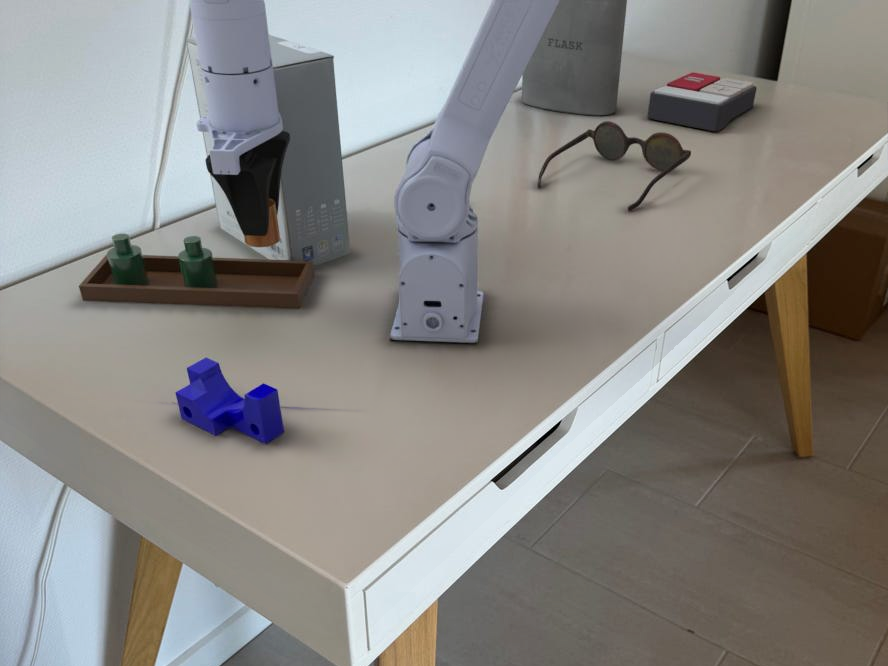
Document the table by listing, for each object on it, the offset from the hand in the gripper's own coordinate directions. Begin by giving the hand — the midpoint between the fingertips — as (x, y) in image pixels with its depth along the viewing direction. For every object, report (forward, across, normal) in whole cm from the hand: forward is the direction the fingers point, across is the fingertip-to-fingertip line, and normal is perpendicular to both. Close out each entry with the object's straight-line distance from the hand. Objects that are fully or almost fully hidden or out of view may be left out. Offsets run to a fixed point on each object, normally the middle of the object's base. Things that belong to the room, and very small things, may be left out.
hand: (260, 225), depth 82 cm
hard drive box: (+9, -15, -2) cm, 17 cm away
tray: (+8, -3, -8) cm, 12 cm away
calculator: (+9, -65, +50) cm, 82 cm away
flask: (+9, -66, +30) cm, 73 cm away
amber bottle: (+1, 0, 0) cm, 1 cm away
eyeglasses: (+9, -36, +34) cm, 50 cm away
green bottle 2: (+8, -3, -8) cm, 12 cm away
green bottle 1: (+8, -3, -15) cm, 17 cm away
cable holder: (+9, +19, +1) cm, 21 cm away
